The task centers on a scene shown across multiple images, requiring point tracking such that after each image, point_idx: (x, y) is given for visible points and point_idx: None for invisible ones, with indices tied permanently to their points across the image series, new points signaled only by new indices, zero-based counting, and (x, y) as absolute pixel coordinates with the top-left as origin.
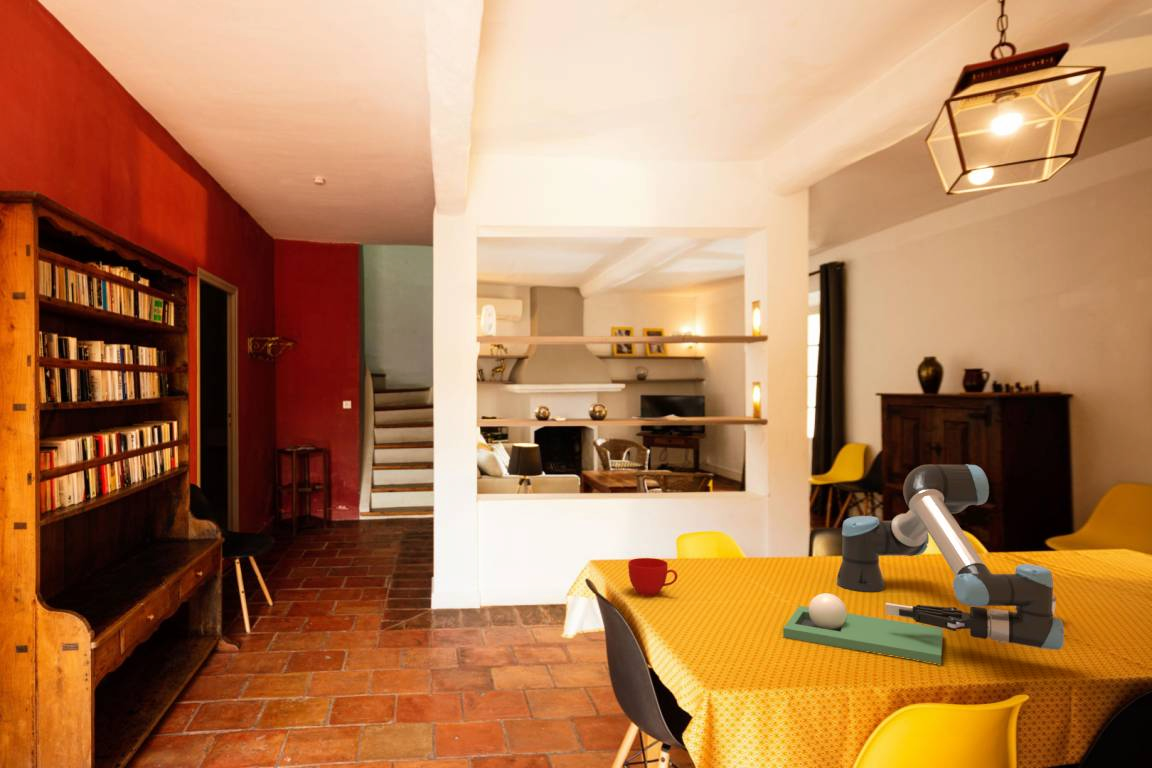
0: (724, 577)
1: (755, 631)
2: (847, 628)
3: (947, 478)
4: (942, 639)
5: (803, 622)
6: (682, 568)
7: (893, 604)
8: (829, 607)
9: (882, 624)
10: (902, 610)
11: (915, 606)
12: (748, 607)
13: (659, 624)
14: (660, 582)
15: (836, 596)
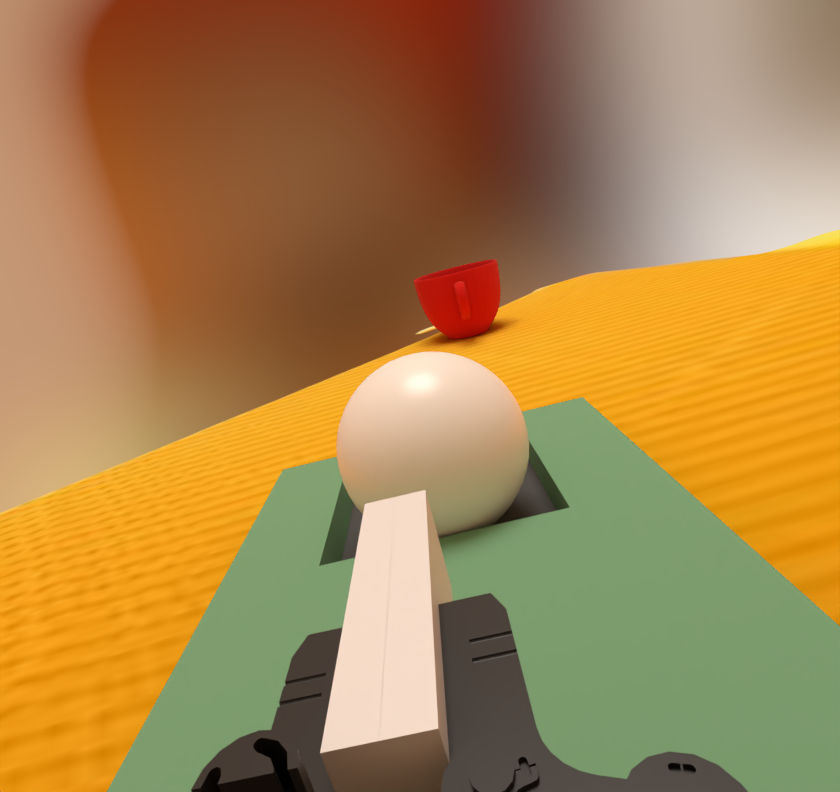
0: (724, 294)
1: (320, 457)
2: None
3: None
4: None
5: None
6: (687, 277)
7: (400, 536)
8: (342, 428)
9: (656, 659)
10: (291, 669)
11: (491, 764)
12: (525, 382)
13: (290, 399)
14: (450, 311)
15: (437, 373)
